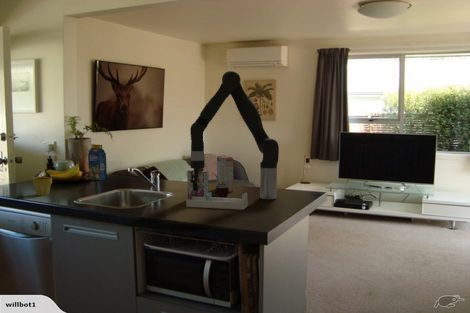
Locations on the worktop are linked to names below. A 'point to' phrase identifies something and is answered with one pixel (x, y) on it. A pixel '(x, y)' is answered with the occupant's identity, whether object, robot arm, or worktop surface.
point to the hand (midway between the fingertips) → (197, 189)
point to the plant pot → (42, 185)
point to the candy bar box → (198, 185)
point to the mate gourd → (221, 189)
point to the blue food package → (97, 163)
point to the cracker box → (225, 171)
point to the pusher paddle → (210, 198)
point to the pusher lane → (219, 203)
